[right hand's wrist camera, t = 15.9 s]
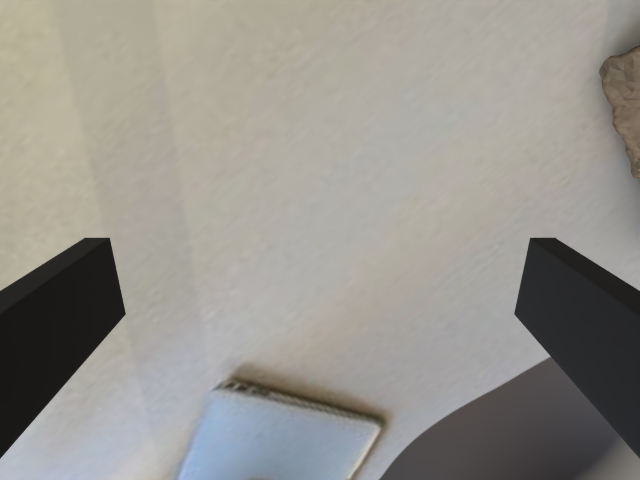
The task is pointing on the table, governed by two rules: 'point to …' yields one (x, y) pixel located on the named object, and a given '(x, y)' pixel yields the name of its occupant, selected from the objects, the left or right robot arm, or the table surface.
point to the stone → (625, 100)
